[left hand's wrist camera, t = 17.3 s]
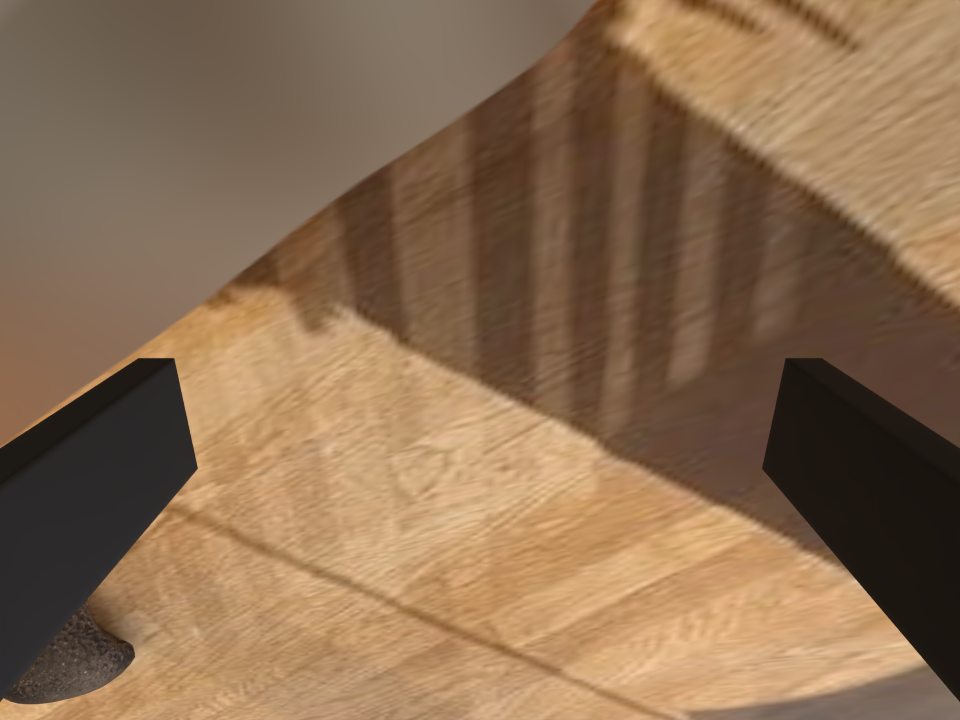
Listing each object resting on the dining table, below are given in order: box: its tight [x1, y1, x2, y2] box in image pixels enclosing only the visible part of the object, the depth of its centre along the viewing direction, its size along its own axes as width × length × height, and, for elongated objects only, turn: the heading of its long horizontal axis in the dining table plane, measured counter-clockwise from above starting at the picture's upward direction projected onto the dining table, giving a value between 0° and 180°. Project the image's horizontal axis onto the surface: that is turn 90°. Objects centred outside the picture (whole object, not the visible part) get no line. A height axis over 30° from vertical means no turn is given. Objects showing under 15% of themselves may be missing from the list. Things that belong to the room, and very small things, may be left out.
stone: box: [4, 602, 135, 704], centre depth 49 cm, size 10×8×10 cm
